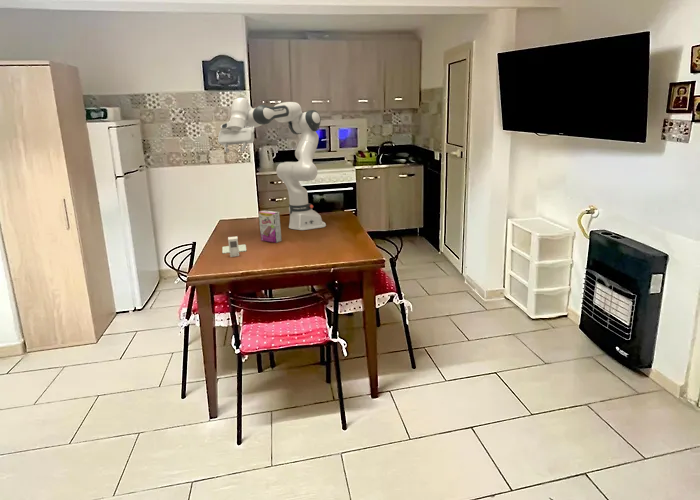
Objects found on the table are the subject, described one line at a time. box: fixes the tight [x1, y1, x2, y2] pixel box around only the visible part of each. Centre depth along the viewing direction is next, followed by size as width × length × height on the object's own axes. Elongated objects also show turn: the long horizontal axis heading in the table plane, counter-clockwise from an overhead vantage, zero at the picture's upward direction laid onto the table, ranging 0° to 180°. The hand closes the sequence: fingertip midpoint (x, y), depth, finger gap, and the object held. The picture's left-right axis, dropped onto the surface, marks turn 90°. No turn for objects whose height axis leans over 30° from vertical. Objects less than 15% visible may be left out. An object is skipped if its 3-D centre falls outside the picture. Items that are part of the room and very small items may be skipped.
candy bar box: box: [257, 210, 283, 244], centre depth 264 cm, size 11×5×16 cm, turn 59°
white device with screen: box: [227, 235, 240, 258], centre depth 242 cm, size 4×5×9 cm
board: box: [222, 244, 247, 254], centre depth 253 cm, size 12×12×1 cm
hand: (234, 151), depth 255 cm, fingers open, 8 cm apart
